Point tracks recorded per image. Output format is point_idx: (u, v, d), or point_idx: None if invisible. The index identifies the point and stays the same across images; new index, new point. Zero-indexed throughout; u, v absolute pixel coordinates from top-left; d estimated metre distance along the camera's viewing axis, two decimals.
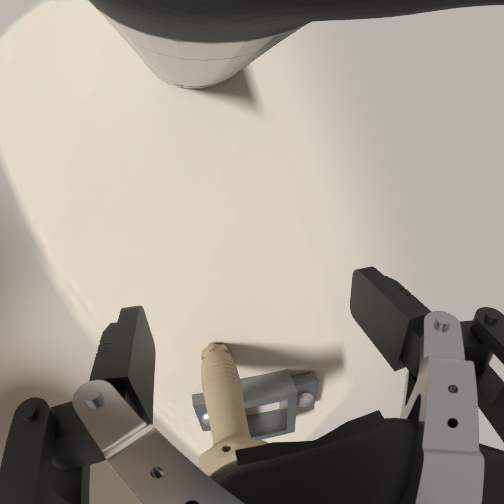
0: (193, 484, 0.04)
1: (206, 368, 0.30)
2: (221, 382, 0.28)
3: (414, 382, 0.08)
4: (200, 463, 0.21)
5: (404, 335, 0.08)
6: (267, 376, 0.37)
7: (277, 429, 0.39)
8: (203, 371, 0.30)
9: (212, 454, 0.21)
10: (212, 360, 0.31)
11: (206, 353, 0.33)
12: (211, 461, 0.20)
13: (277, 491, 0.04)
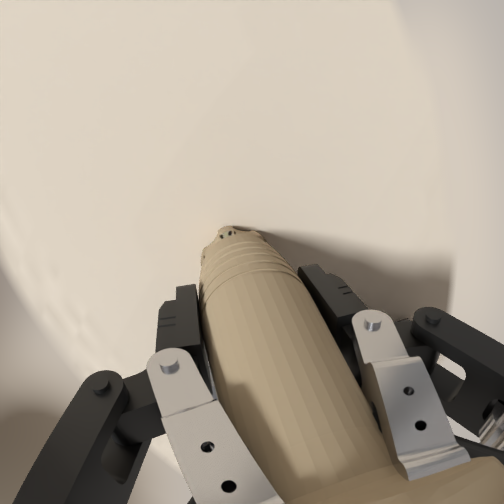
0: (238, 465, 0.04)
1: (213, 264, 0.12)
2: (262, 282, 0.09)
3: None
4: None
5: (335, 333, 0.09)
6: None
7: None
8: (204, 274, 0.12)
9: None
10: (229, 246, 0.12)
11: (213, 246, 0.14)
12: None
13: None
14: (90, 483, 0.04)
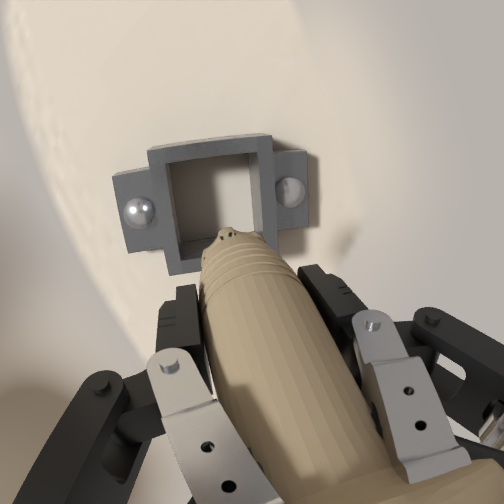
0: (238, 466, 0.04)
1: (213, 266, 0.12)
2: (262, 284, 0.09)
3: None
4: None
5: (335, 333, 0.09)
6: (228, 136, 0.25)
7: None
8: (204, 276, 0.12)
9: None
10: (230, 247, 0.12)
11: (213, 247, 0.14)
12: None
13: None
14: (90, 483, 0.04)
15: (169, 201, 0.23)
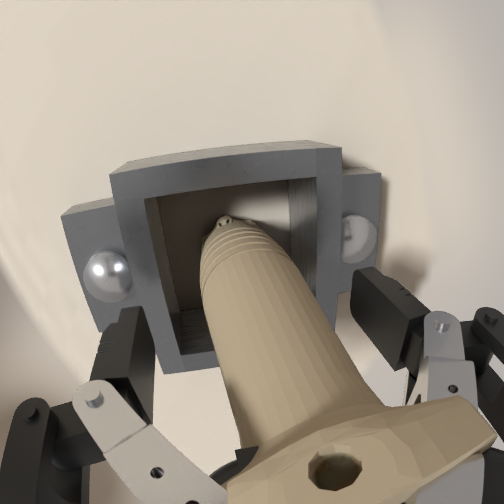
0: (193, 484, 0.04)
1: (212, 247, 0.13)
2: (256, 259, 0.11)
3: (414, 382, 0.08)
4: None
5: (404, 335, 0.08)
6: (256, 144, 0.15)
7: None
8: (205, 257, 0.13)
9: None
10: (227, 231, 0.14)
11: None
12: None
13: None
14: None
15: (155, 266, 0.13)
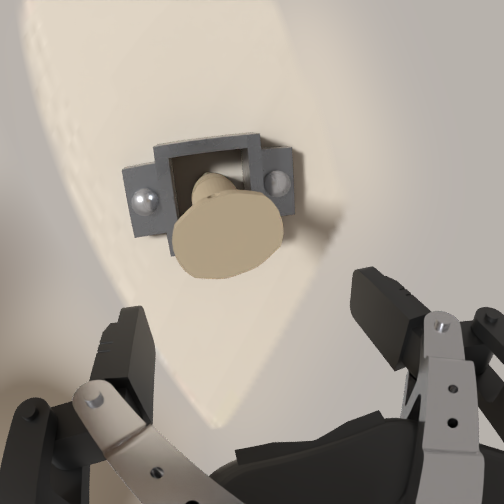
0: (193, 484, 0.04)
1: (198, 181, 0.27)
2: (214, 179, 0.24)
3: (414, 382, 0.08)
4: (174, 227, 0.17)
5: (404, 335, 0.08)
6: (223, 135, 0.29)
7: None
8: (194, 186, 0.27)
9: (193, 206, 0.17)
10: (206, 175, 0.27)
11: None
12: (190, 211, 0.17)
13: (277, 491, 0.04)
14: None
15: (172, 190, 0.27)
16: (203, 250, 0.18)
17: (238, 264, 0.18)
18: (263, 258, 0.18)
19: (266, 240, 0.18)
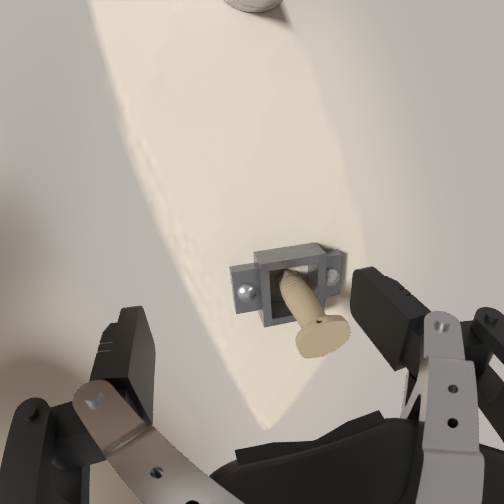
0: (193, 484, 0.04)
1: (286, 283, 0.43)
2: (301, 288, 0.40)
3: (414, 382, 0.08)
4: (299, 337, 0.33)
5: (404, 335, 0.08)
6: (298, 246, 0.44)
7: None
8: (284, 286, 0.43)
9: (310, 327, 0.33)
10: (290, 278, 0.43)
11: (282, 276, 0.45)
12: (309, 331, 0.32)
13: (277, 491, 0.04)
14: None
15: (269, 290, 0.42)
16: (312, 346, 0.33)
17: (327, 350, 0.34)
18: (339, 346, 0.34)
19: (341, 338, 0.34)
